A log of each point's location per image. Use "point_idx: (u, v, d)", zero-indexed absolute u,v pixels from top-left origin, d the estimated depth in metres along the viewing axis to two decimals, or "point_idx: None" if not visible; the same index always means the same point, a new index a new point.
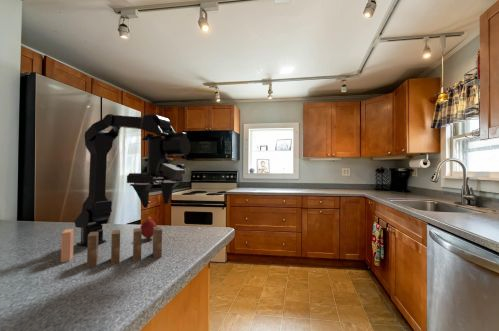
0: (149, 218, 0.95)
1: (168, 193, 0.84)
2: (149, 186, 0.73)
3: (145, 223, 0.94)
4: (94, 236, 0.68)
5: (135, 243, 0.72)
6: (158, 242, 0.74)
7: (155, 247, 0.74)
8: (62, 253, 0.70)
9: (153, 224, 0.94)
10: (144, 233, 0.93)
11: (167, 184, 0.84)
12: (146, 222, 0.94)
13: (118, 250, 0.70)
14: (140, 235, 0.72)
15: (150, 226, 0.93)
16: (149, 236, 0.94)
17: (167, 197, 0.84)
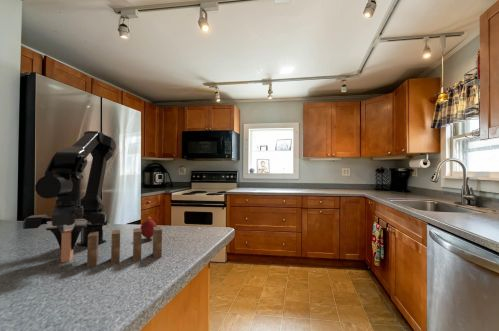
0: (149, 218, 0.95)
1: None
2: (54, 230, 0.70)
3: (145, 223, 0.94)
4: (94, 236, 0.68)
5: (135, 243, 0.72)
6: (158, 242, 0.74)
7: (155, 247, 0.74)
8: (62, 253, 0.70)
9: (153, 224, 0.94)
10: (144, 233, 0.93)
11: None
12: (146, 222, 0.94)
13: (118, 250, 0.70)
14: (140, 235, 0.72)
15: (150, 226, 0.93)
16: (149, 236, 0.94)
17: None
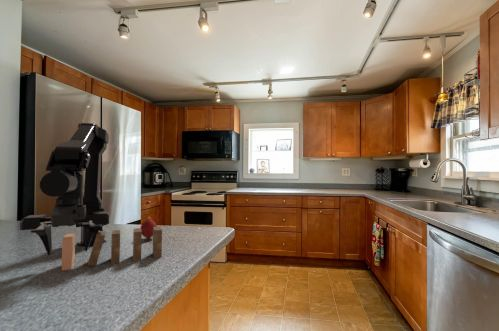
0: (149, 218, 0.95)
1: None
2: (40, 232, 0.63)
3: (145, 223, 0.94)
4: (102, 236, 0.69)
5: (135, 243, 0.72)
6: (157, 242, 0.74)
7: (155, 247, 0.74)
8: (63, 260, 0.65)
9: (153, 224, 0.94)
10: (144, 233, 0.93)
11: None
12: (146, 222, 0.94)
13: (118, 250, 0.70)
14: (140, 235, 0.72)
15: (150, 226, 0.93)
16: (149, 236, 0.94)
17: (85, 243, 0.68)
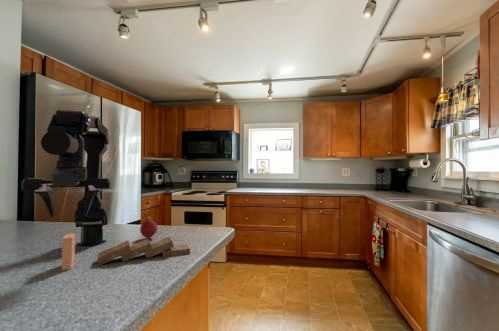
0: (149, 218, 0.95)
1: (85, 203, 0.68)
2: (43, 193, 0.63)
3: (145, 223, 0.94)
4: (129, 249, 0.71)
5: (161, 246, 0.75)
6: (178, 253, 0.77)
7: (173, 251, 0.76)
8: (63, 260, 0.65)
9: (153, 224, 0.94)
10: (144, 233, 0.93)
11: None
12: (146, 222, 0.94)
13: (135, 255, 0.72)
14: (170, 247, 0.76)
15: (150, 226, 0.93)
16: (149, 236, 0.94)
17: (84, 207, 0.68)
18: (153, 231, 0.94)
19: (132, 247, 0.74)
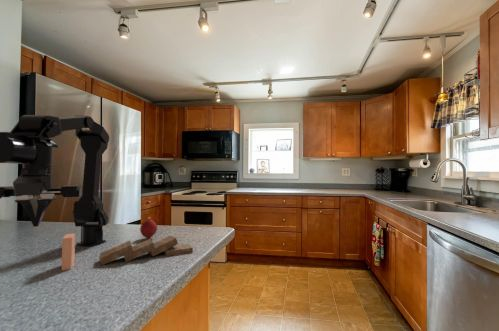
0: (149, 218, 0.95)
1: None
2: (25, 202, 0.62)
3: (145, 223, 0.94)
4: (131, 250, 0.71)
5: (167, 244, 0.77)
6: (181, 252, 0.78)
7: (176, 250, 0.77)
8: (63, 260, 0.65)
9: (153, 224, 0.94)
10: (144, 233, 0.93)
11: None
12: (146, 222, 0.94)
13: (138, 255, 0.72)
14: (174, 244, 0.79)
15: (150, 226, 0.93)
16: (149, 236, 0.94)
17: None
18: (153, 231, 0.94)
19: (135, 247, 0.74)
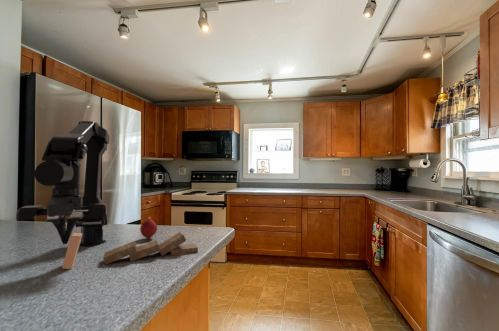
0: (149, 218, 0.95)
1: (66, 230, 0.66)
2: (55, 221, 0.64)
3: (145, 223, 0.94)
4: (135, 250, 0.71)
5: (174, 242, 0.77)
6: (186, 251, 0.78)
7: (181, 250, 0.78)
8: (65, 259, 0.65)
9: (153, 224, 0.94)
10: (144, 233, 0.93)
11: None
12: (146, 222, 0.94)
13: (143, 256, 0.72)
14: (182, 241, 0.79)
15: (150, 226, 0.93)
16: (149, 236, 0.94)
17: None
18: (153, 231, 0.94)
19: (140, 247, 0.75)
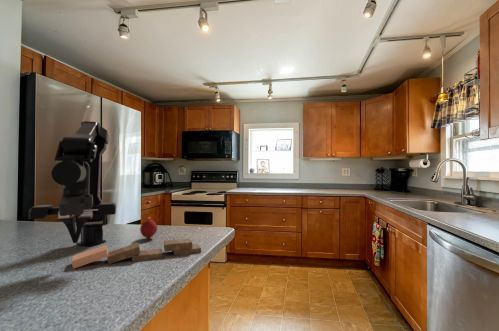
0: (149, 218, 0.95)
1: None
2: (66, 220, 0.65)
3: (145, 223, 0.94)
4: (138, 252, 0.72)
5: (181, 244, 0.77)
6: (189, 252, 0.78)
7: (184, 250, 0.78)
8: (82, 258, 0.66)
9: (153, 224, 0.94)
10: (144, 233, 0.93)
11: None
12: (146, 222, 0.94)
13: None
14: (188, 248, 0.78)
15: (150, 226, 0.93)
16: (149, 236, 0.94)
17: (75, 234, 0.67)
18: (153, 231, 0.94)
19: (145, 252, 0.75)
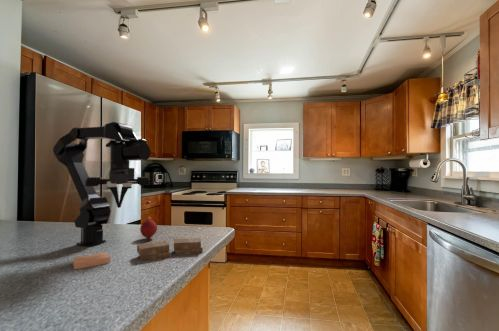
0: (149, 218, 0.95)
1: (120, 197, 0.85)
2: (113, 189, 0.82)
3: (145, 223, 0.94)
4: (168, 249, 0.76)
5: (190, 243, 0.78)
6: (191, 252, 0.78)
7: (186, 250, 0.78)
8: (85, 262, 0.67)
9: (153, 224, 0.94)
10: (144, 233, 0.93)
11: None
12: (146, 222, 0.94)
13: None
14: (197, 247, 0.78)
15: (150, 226, 0.93)
16: (149, 236, 0.94)
17: (119, 201, 0.85)
18: (153, 231, 0.94)
19: None
